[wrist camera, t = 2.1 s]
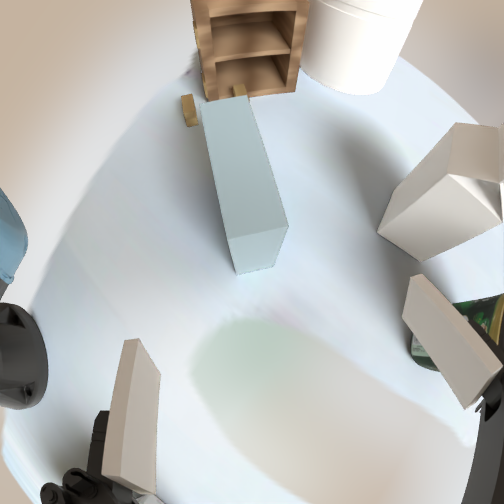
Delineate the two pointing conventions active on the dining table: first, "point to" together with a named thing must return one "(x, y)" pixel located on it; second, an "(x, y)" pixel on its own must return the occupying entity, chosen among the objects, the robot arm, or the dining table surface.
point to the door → (244, 184)
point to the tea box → (149, 499)
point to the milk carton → (449, 193)
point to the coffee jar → (481, 311)
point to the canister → (355, 42)
